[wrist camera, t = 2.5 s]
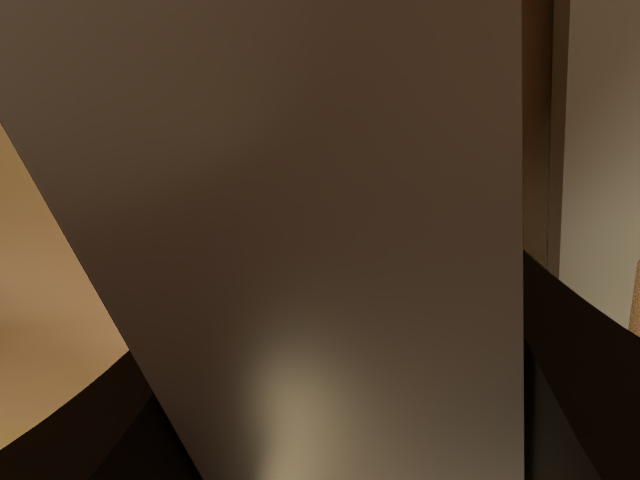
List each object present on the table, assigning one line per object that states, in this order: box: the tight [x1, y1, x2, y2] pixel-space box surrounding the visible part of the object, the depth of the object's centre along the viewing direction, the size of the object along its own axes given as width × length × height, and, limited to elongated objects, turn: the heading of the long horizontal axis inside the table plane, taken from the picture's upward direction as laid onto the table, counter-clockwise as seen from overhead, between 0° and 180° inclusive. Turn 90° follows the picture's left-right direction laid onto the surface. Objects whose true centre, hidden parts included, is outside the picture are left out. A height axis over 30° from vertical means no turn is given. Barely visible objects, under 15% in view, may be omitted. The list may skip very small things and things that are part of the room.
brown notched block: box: [0, 0, 524, 480], centre depth 9 cm, size 14×4×6 cm, turn 12°
